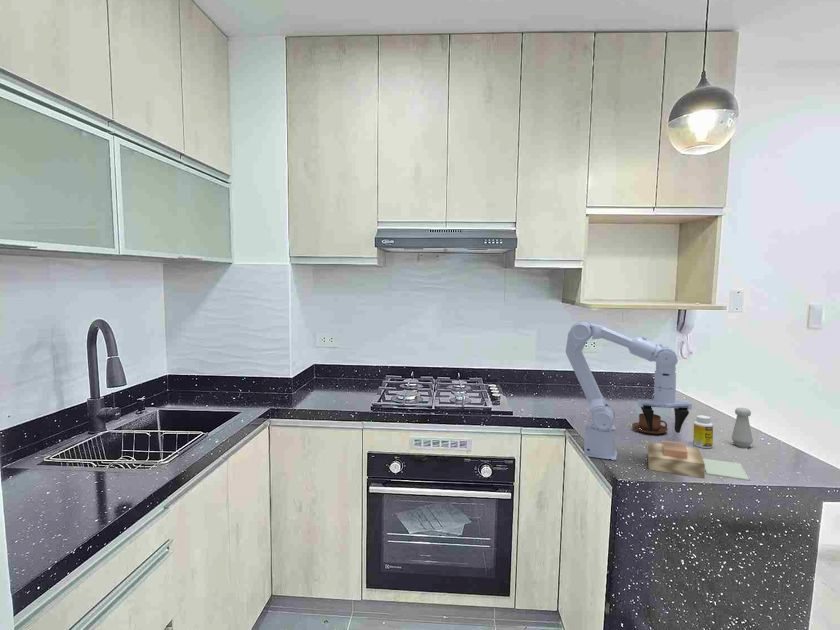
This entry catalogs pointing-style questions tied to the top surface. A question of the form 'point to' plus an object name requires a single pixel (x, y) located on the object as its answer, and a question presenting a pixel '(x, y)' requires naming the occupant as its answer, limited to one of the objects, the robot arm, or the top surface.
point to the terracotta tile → (674, 449)
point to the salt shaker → (742, 428)
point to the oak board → (676, 461)
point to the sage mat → (725, 469)
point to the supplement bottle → (703, 432)
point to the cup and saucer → (655, 422)
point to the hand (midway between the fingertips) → (663, 431)
